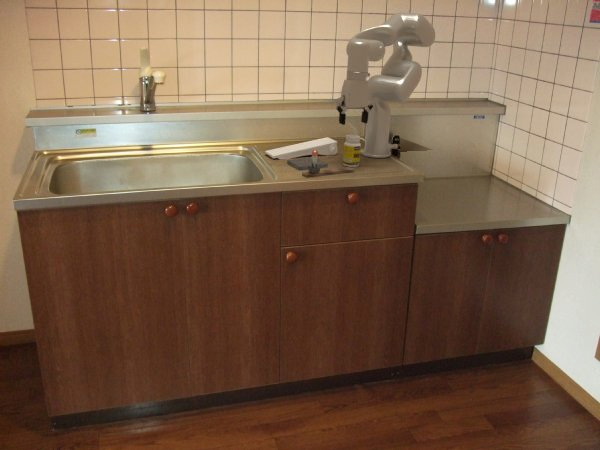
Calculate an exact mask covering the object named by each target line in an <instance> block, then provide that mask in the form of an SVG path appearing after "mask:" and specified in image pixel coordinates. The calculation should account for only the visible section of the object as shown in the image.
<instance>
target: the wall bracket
mask: <svg viewBox="0 0 600 450" xmlns="http://www.w3.org/2000/svg"><path fill="white" fill-rule="evenodd" d="M313 150H316V151H318V155H322V156H335V155H336V154H337V153H338V150H339V149H338V141H337V140H335V139H332V138H330V137H328V136H327V137H323V138H318V139H313V140H308V141H304V142H300V143H296V144H291V145H286V146H281V147H276V148H272V149H268V150H264V153H265V154H266V155H268V157H271V158H272V159H278V160H291V159H295V158H299V157H305V156H312V151H313Z"/></svg>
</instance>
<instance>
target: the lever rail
mask: <svg viewBox="0 0 600 450" xmlns="http://www.w3.org/2000/svg"><path fill="white" fill-rule="evenodd" d="M354 172H355V169H354V168H353V167H348V166H346V167H340V168H332V169H322V170H321V169H320V172H316V173H311V172H309V171H305V172H303V171H302V173H301V175H302V177H304V178H313V177H314V178H315V177H322V176H329V175H332V176H333V175H340V174H349V173H354Z"/></svg>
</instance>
